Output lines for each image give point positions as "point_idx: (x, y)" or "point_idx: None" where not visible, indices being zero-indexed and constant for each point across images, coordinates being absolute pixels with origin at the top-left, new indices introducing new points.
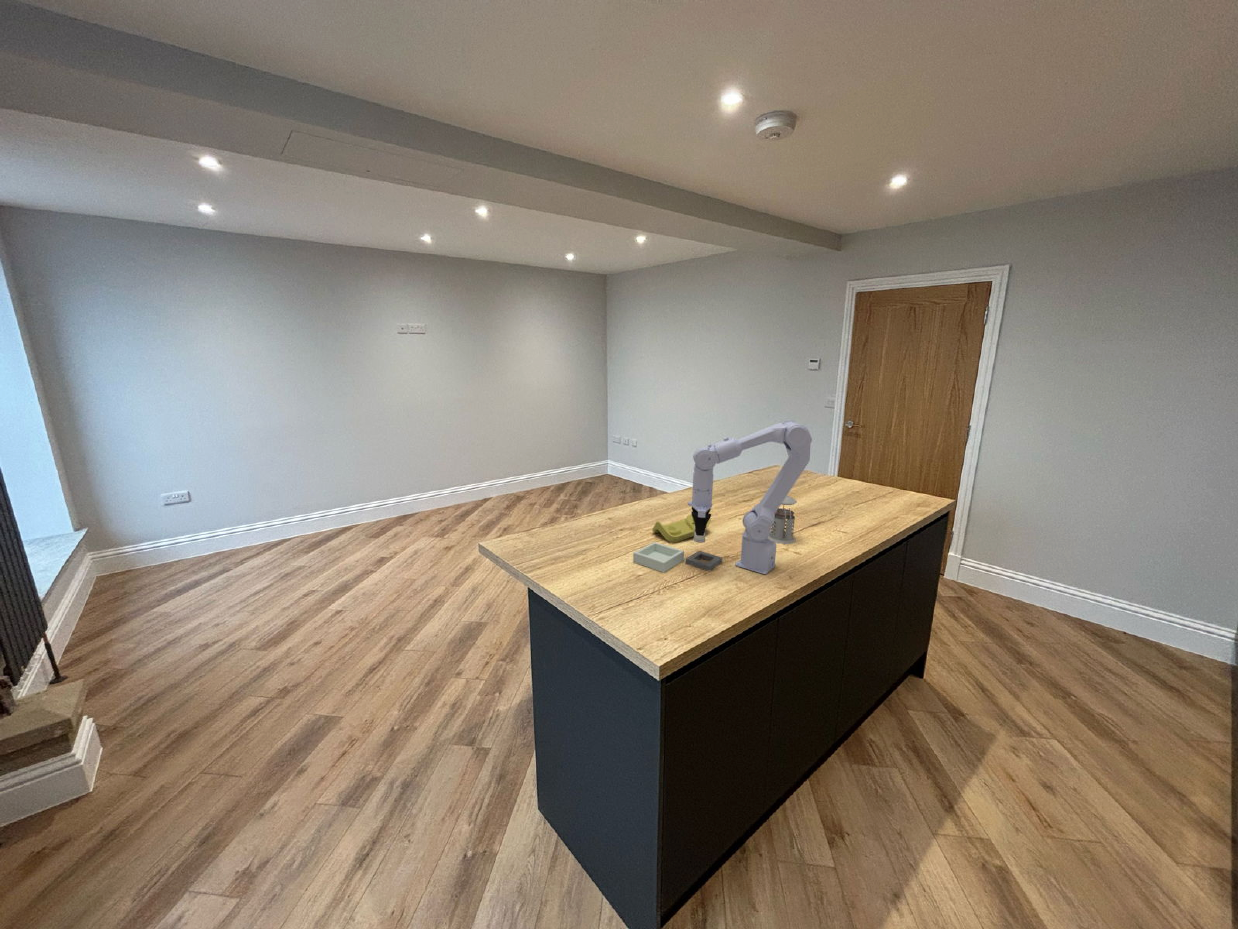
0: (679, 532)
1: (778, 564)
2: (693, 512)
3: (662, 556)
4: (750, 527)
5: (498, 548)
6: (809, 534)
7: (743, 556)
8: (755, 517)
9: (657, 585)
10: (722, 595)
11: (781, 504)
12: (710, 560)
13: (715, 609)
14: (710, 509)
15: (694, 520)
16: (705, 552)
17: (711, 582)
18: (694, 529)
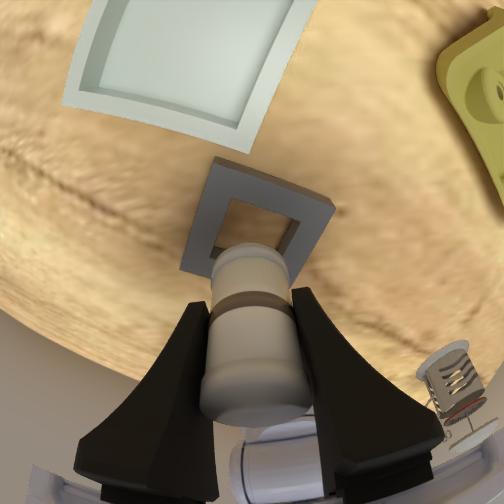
0: (490, 115)
1: None
2: (121, 484)
3: (237, 37)
4: (231, 481)
5: None
6: (447, 383)
7: None
8: (284, 501)
9: (8, 126)
10: (66, 300)
11: (458, 440)
12: (278, 251)
13: (14, 290)
14: (324, 494)
15: (117, 411)
16: (319, 237)
17: (108, 272)
18: (244, 301)
